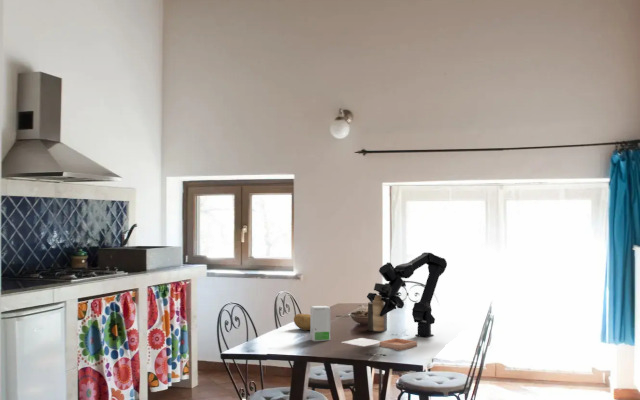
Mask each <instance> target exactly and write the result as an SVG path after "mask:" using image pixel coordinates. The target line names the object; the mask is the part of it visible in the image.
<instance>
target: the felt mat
mask: <svg viewBox="0 0 640 400" xmlns="http://www.w3.org/2000/svg"><path fill="white" fill-rule="evenodd" d="M381 341H382V340H375V339H370V338H365V337H359V338H354V339H351V340H345V341H341V344H343V343H344V344H348V345H352V346H353V345H354V346H357V347H358V346H359V347H364V348H365V347H368V346H373V345H377V344H380V342H381Z"/></svg>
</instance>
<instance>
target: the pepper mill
mask: <svg viewBox="0 0 640 400" xmlns="http://www.w3.org/2000/svg"><path fill="white" fill-rule="evenodd" d="M381 299H382V298H381V295H379V294H377V296H375V298H374V300H373V330H374V331H373V332H375V331H381V332H384V331H383V330H384V315H383V316H380V313H381V311H382V309H383V307H384V306H383V300H381Z"/></svg>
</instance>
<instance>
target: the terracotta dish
mask: <svg viewBox="0 0 640 400" xmlns="http://www.w3.org/2000/svg"><path fill="white" fill-rule="evenodd" d="M380 341H381V342H380V343H379V347H382V348H389V349H393V350H395V351H404V350H405V351H406V350H407V349H412V348H416V347H418V341H417V340H410V339H404V338H397V337H395V338H390V339H385V340H380Z"/></svg>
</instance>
